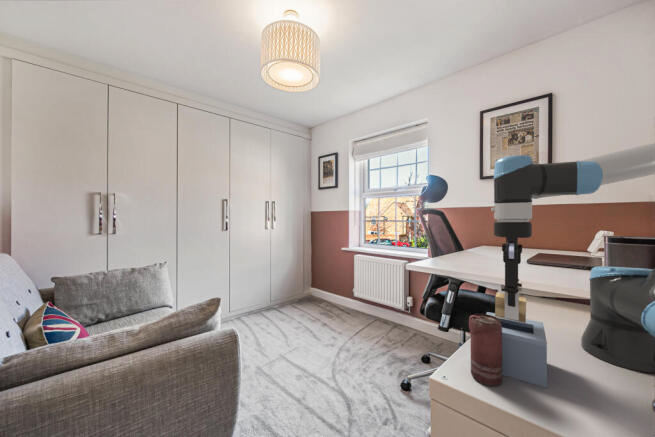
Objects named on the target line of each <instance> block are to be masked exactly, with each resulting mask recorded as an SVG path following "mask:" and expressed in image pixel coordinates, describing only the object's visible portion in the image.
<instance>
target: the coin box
mask: <svg viewBox="0 0 655 437" xmlns="http://www.w3.org/2000/svg"><path fill="white" fill-rule="evenodd" d="M485 314H487V315H491V316H494V317H495V312H489V311H487V312H486V313H485ZM496 318H498V319H499V320H500V322H501V324H502V376H505V377H508V378H511V379H515V380H518V381H522V382H525V383H528V384H532V385H535V386H538V387H541V388H545V389H548V354H547V353H548V346H547V344H548V342H547V337H546V336H547V335H546V331H545V326H544V322H542V321H538V320H537V321H536V320H533V319H527V318H526V323H523V322H519V321H514V320H509V319H505V318H500V317H496Z"/></svg>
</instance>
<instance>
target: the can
mask: <svg viewBox="0 0 655 437" xmlns="http://www.w3.org/2000/svg"><path fill="white" fill-rule="evenodd" d="M468 329H469V333H470V374H471V376H472V378H473V379H474V380H475V381H477V382H478V383H479V384H482V385H484V386H487V387H499V386H500V385H501V384H502V383H503V375H502V324H501V322H500V320H499V319H498V318H496V317H494V316H491V315H487V314H486V313H474V314H472V315H470V316H469V320H468Z"/></svg>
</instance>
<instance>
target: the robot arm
mask: <svg viewBox="0 0 655 437" xmlns="http://www.w3.org/2000/svg"><path fill="white" fill-rule="evenodd" d="M652 175H655V142H652V143H648V144H644V145H640V146H636V147H631V148H627V149H623V150H619V151H615V152H610V153H607V154H603V155H599V156H594V157H590V158H586V159H582V160H576V161H566V162H565V161H564V162H551V163H534V161H533V158H532V156H531V155H526V154H524V155H523V154H522V155H521V154H520V155H509V156H505V157H501V158H498V160H496V161H495V163H494V170H493V203H494V207H491V208H490V211H491V212H494V213H493V219H494V220H496V221H494V222H493V235H494V237H497V238H505V243H502V245H501V251H502V261H503V263H504V288H501V292H504V294H505V318H508V319H513V320H518V321H519V296H520V288H522V287H523V283H519V281H520V279H519V265H520V264H521V262H522V260H521V259H522V258H521V256H522V253H523V244H520V243H519V239H528V238H531V237H532V234H533V230H532V228H533V223H532V222H531V221H530V220H532V219H533V199H534V200H537V199H541V198H547V197H549V198H550V197H551V198H552V197H558V196H559V197H560V196H574V195H575V196H579V195H591V194H593V193H595V192H597V191H598V190H599V189H600V187H601V186H604V185H609V184H614V183H619V182H624V181H628V180H632V179H633V180H634V179H638V178H642V177H643V178H644V177H647V176H652ZM588 280H589V296H590V298H589V301H590V302H589V304H590V306H589V308H590V310H589V311H590V318H589V321H588V323H587V325H586V327H585V329H584V331H583V333H582V335H581V338H580V339H581V344H580V345H581V348H582V349H583V350H584V351H585V352H587V353H588V354H590V355H592V356H594V357H595V358H598V359H600V360H602V361H604V362H607V363H610V364H611V365H615V366H619V367H621V368H622V367H623V368H624V369H630V370H633V371H638V372H644V373H649V374H655V373H654V372H655V267H654V268H653V269H652V268H642V267H641V268H640V267H625V266H622V267H621V266H600V265H599V266H594V267H592V268H591V270H590V276H589V279H588Z"/></svg>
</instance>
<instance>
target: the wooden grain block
mask: <svg viewBox="0 0 655 437" xmlns="http://www.w3.org/2000/svg"><path fill="white" fill-rule="evenodd" d="M494 297H495V299H494V301H495V303H494V308H495V309H494V310H495V311H494V313H495V317H500V318H505V293H502V292H496V294H495V296H494ZM526 317H527V297H526V296H520V295H519V322H523V323H526V319H527V318H526ZM505 319H508V318H505ZM509 320H513V319H509ZM514 321H518V320H514Z"/></svg>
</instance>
